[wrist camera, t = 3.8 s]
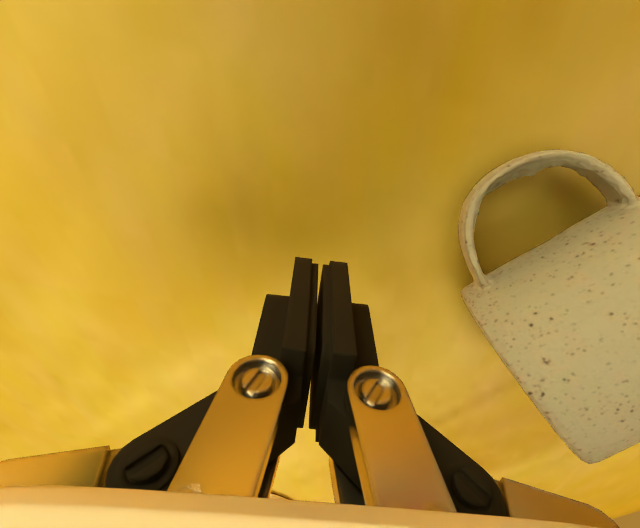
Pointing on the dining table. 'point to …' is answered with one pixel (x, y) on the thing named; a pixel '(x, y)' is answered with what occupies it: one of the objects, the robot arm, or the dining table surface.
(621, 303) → the ceramic mug
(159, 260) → the dining table surface
